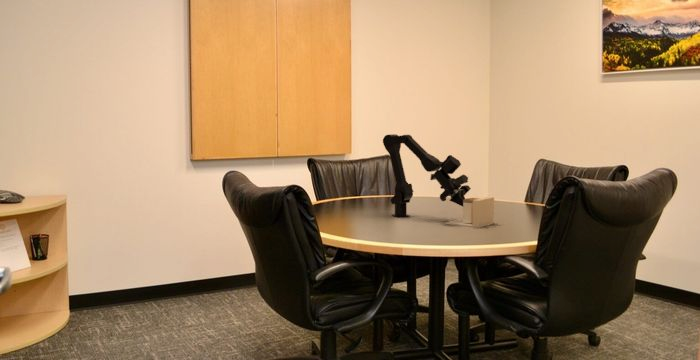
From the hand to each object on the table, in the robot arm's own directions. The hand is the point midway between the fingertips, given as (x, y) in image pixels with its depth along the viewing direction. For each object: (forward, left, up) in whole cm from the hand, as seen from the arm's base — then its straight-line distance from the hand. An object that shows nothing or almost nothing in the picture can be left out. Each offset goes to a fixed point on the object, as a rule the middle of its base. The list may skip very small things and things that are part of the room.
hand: (467, 207), depth 279 cm
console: (+1, +1, -7) cm, 7 cm away
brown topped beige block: (+2, +1, -7) cm, 8 cm away
